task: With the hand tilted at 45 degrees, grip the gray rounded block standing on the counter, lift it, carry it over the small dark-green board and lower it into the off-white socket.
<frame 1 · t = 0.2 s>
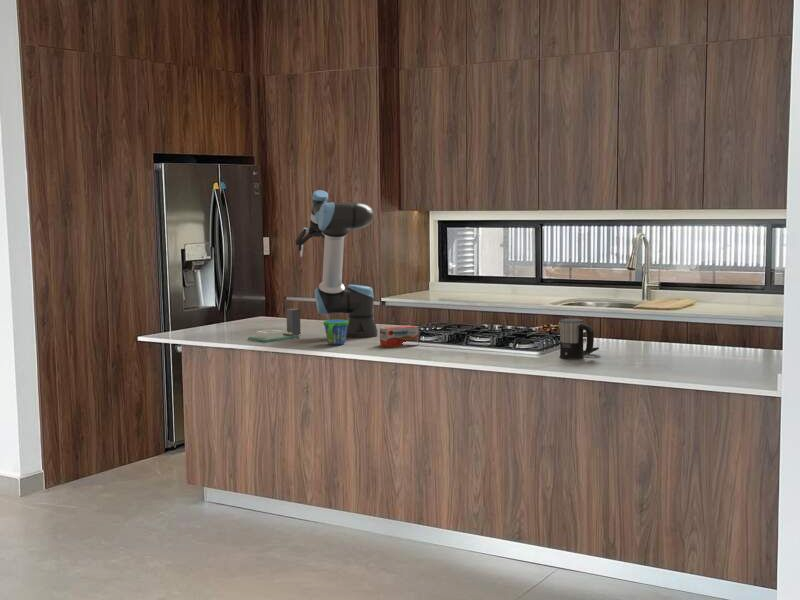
hand: (314, 255, 480), 35 cm above the worktop, tool tilted 35°, fingers open, 13 cm apart
snack cup: (336, 344, 416), on the worktop
milk frother: (578, 357, 376), on the worktop
gray rounded block: (293, 335, 446), on the worktop
plate of food: (561, 333, 443), on the worktop
medicine box: (399, 346, 411), on the worktop
board: (273, 338, 434), on the worktop
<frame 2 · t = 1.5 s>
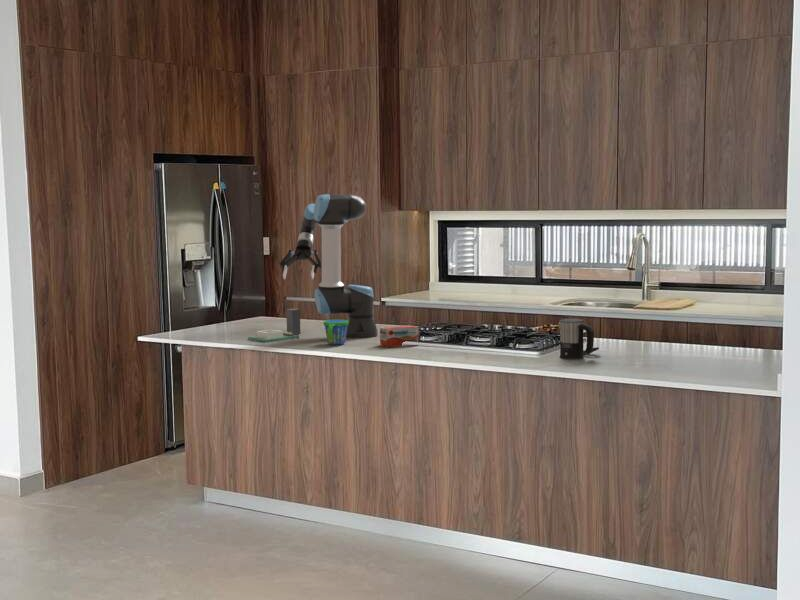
hand: (298, 277, 454), 26 cm above the worktop, tool tilted 45°, fingers open, 13 cm apart
nothing on the worktop moved.
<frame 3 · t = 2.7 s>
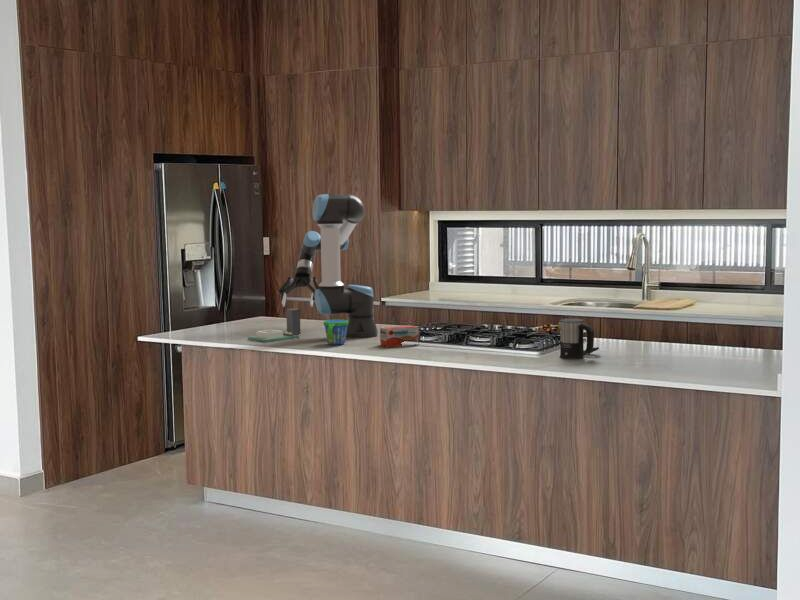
hand: (297, 305, 454), 13 cm above the worktop, tool tilted 45°, fingers open, 13 cm apart
nothing on the worktop moved.
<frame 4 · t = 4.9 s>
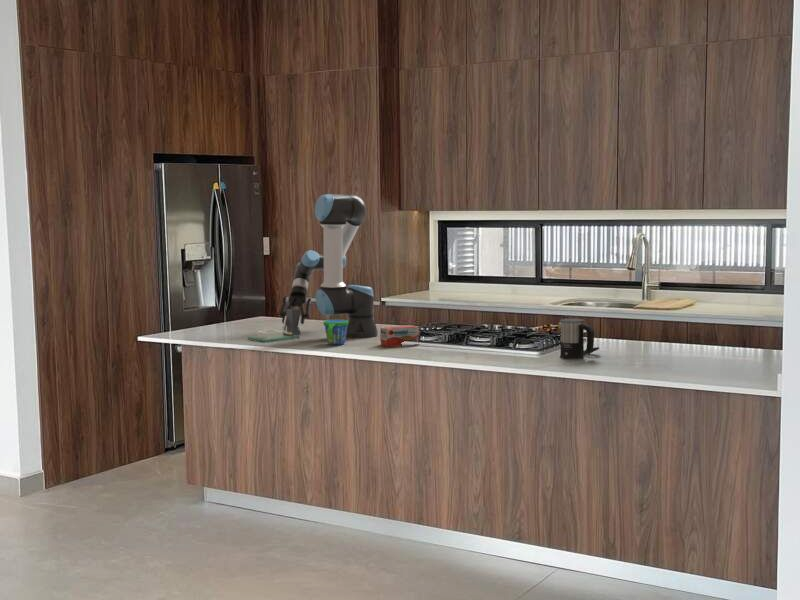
hand: (291, 328, 442), 3 cm above the worktop, tool tilted 45°, fingers closed on gray rounded block, 6 cm apart
gray rounded block: (293, 334, 446), on the worktop, touching gripper
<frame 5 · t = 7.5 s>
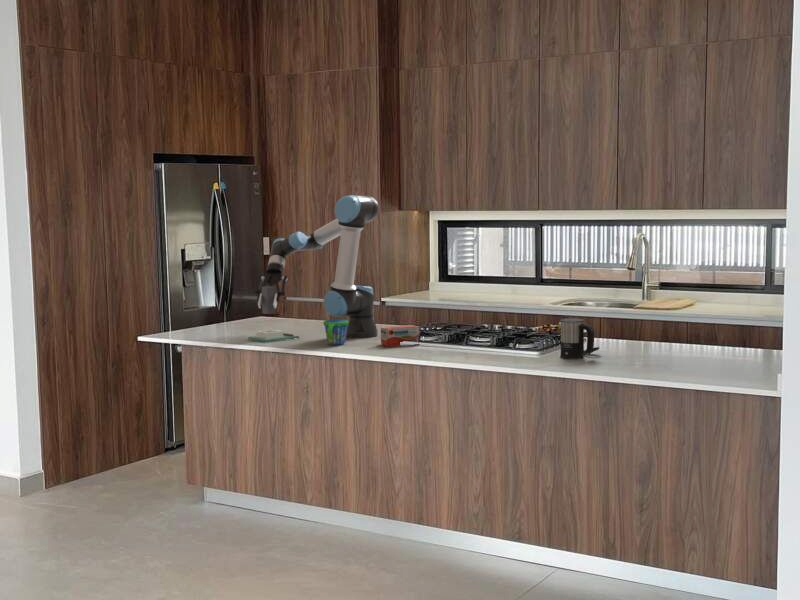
hand: (266, 306, 428), 15 cm above the worktop, tool tilted 45°, fingers closed on gray rounded block, 6 cm apart
gray rounded block: (269, 313, 432), point 12 cm above the worktop, touching gripper
when the fingers open (5 cm above the worktop, at t = 10.1 s): gray rounded block stays where it is, resting on board.
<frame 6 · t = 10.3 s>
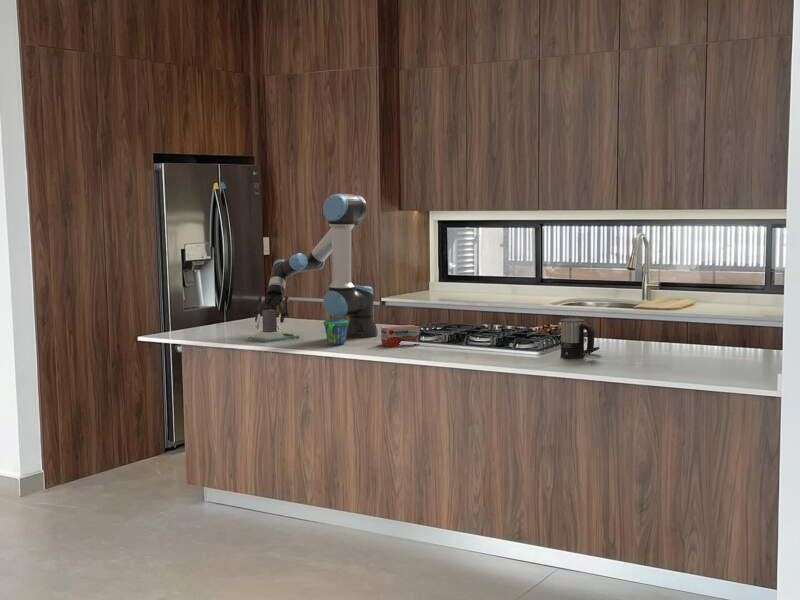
hand: (267, 327, 429), 6 cm above the worktop, tool tilted 45°, fingers open, 9 cm apart
gray rounded block: (269, 336, 433), point 1 cm above the worktop, touching board
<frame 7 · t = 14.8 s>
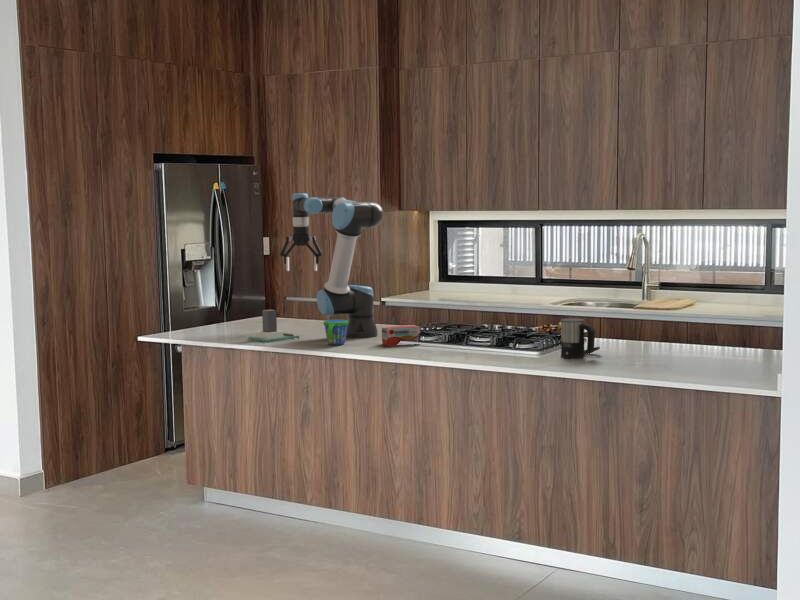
hand: (301, 270, 458), 29 cm above the worktop, tool pointing down, fingers open, 13 cm apart
at the end: gray rounded block 0.1 cm from the target spot on the board, point 1.2 cm above the board's base; gray rounded block tilted 0°; the gripper is holding nothing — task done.
